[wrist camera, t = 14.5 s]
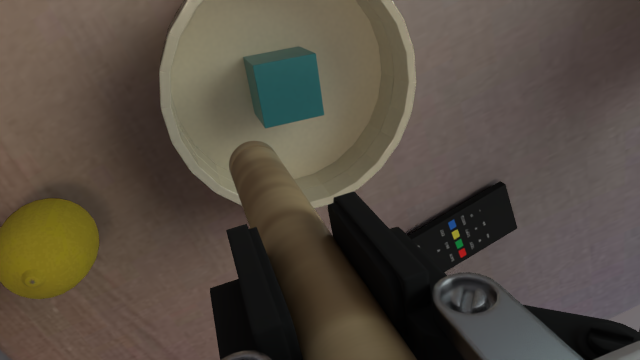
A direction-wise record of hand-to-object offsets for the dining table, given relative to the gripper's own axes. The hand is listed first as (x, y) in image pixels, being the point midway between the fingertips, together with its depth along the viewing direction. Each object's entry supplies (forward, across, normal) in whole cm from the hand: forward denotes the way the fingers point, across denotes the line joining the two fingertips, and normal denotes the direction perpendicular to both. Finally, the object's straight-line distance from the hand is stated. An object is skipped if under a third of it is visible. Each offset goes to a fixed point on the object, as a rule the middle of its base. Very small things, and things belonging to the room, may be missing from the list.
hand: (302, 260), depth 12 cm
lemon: (+23, +12, +6) cm, 27 cm away
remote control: (+23, -11, +19) cm, 32 cm away
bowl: (+22, -5, 0) cm, 23 cm away
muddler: (+8, 0, 0) cm, 8 cm away
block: (+22, -4, 0) cm, 22 cm away
